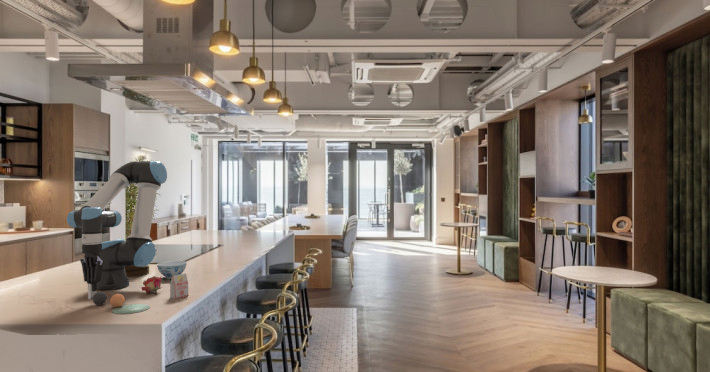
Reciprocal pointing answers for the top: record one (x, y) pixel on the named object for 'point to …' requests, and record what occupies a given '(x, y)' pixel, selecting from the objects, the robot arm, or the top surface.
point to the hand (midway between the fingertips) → (92, 298)
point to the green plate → (130, 309)
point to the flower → (152, 284)
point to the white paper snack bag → (179, 286)
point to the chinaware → (171, 268)
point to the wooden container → (136, 270)
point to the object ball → (117, 300)
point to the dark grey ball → (99, 298)
